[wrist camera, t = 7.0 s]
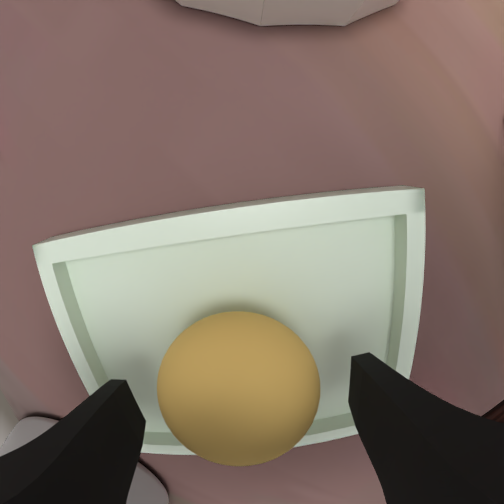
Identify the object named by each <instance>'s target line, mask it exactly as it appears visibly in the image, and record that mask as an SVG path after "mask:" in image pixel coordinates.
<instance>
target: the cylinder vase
mask: <svg viewBox="0 0 504 504" xmlns="http://www.w3.org/2000/svg"><path fill="white" fill-rule="evenodd" d="M57 422H59V421H57V420H54V419H50V418H45V417H27V418H24V419H22V420H20V421H19V422H18V423H17V424H16V426H15V427H14V428H13V430H12V431H11V433H10V434H9V436H8V437H7V438H6V440H5V442H4V443H3V444H2V446H1V448H0V456H2V455H5V454H7V453H9V452H11V451H13V450H15V449H17V448H19V447H21V446H23V445H25V444H27V443H28V442H30V441H32V440H33V439H35V438H36V437H38V436H40V435H41V434H42V433H44V432H45V431H47V430H48V429H49V428H51V427H52V426H53V425H55V424H56V423H57ZM126 504H169V498H168V494H167V491H166V489H165V488H164V486H163V485H162V483H161V482H160V481H159V480H158V479H157V477H156V476H155V475H153V474H152V473H151V472H150V471H149V470H148V469H147V468H146V467H144V466H143V465H142V464H140V463H139V462H138V463H137V466H136V470H135V473H134V476H133V480H132V483H131V486H130V490H129V493H128V497H127V502H126Z"/></svg>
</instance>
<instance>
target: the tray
mask: <svg viewBox="0 0 504 504" xmlns="http://www.w3.org/2000/svg"><path fill="white" fill-rule="evenodd" d="M32 247H33V251H34V255H35V259H36V263H37V266H38V270H39V273H40V277H41V280H42V283H43V287H44V290H45V293H46V296H47V299H48V302H49V305H50V307H51V310H52V313H53V316H54V318H55V321H56V324H57V326H58V329H59V331H60V334H61V336H62V339H63V341H64V343H65V346H66V348H67V350H68V353H69V355H70V357H71V359H72V361H73V364H74V366H75V368H76V370H77V372H78V374H79V376H80V378H81V380H82V382H83V384H84V386H85V388H86V390H87V392H88V393H89V395H92V394H93V393H94V392H95V391H96V390H98V389H99V388H100V387H101V386H102V385H104V384H105V383H106V382H108V381H109V380H111V379H121V380H127V383H128V385H129V387H130V389H131V391H132V394H133V396H134V398H135V400H136V402H137V404H138V406H139V408H140V410H141V412H142V414H143V416H144V418H145V420H146V426H145V433H144V440H143V446H142V449H141V453H154V454H175V455H196V454H195V453H193V452H191V451H190V450H188V449H187V448H186V447H185V446H184V445H182V444H181V443H180V442H179V441H178V440H177V438H176V437H175V436H174V435H173V434H172V432H171V431H170V429H169V428H168V426H167V425H166V423H165V421H164V418H163V416H162V414H161V411H160V407H159V403H158V398H157V378H158V372H159V368H160V365H161V362H162V359H163V357H164V355H165V354H166V352H167V350H168V348H169V346H170V345H171V344H172V343H173V341H174V340H175V339H176V338H177V337H178V335H180V334H181V333H182V332H183V331H184V330H185V329H186V328H188V327H189V326H191V325H192V324H194V323H195V322H197V321H199V320H201V319H203V318H205V317H208V316H211V315H214V314H218V313H223V312H232V311H244V312H253V313H257V314H262V315H265V316H268V317H270V318H273V319H275V320H277V321H279V322H281V323H282V324H284V325H285V326H287V327H288V328H289V329H291V330H292V331H293V332H294V333H296V334H297V335H298V336H299V337H300V339H301V340H302V341H303V342H304V344H305V345H306V346H307V347H308V349H309V351H310V352H311V354H312V356H313V358H314V360H315V363H316V366H317V369H318V373H319V378H320V401H319V406H318V411H317V413H316V416H315V418H314V420H313V423H312V425H311V426H310V428H309V430H308V431H307V433H306V434H305V435H304V437H303V438H302V439H301V440H300V441H299V442H298V443H297V444H296V445H295V446H294V447H298V446H304V445H310V444H315V443H320V442H325V441H330V440H334V439H339V438H343V437H347V436H351V435H355V434H358V431H357V429H356V427H355V423H354V420H353V417H352V414H351V410H350V407H349V403H348V396H349V384H350V369H351V356H355V355H359V354H364V353H368V352H370V353H371V354H373V355H374V356H376V357H377V358H378V359H380V360H381V361H383V362H384V363H385V364H387V365H388V366H390V367H391V368H392V369H394V370H395V371H397V372H398V373H400V374H401V375H403V376H404V377H405V378H407V379H408V380H409V377H410V373H411V368H412V363H413V357H414V352H415V346H416V340H417V333H418V326H419V319H420V310H421V301H422V291H423V279H424V262H425V190H424V188H418V187H411V186H404V185H401V186H387V187H374V188H362V189H350V190H340V191H329V192H320V193H310V194H301V195H292V196H284V197H276V198H268V199H260V200H253V201H245V202H238V203H231V204H224V205H217V206H211V207H204V208H198V209H192V210H185V211H179V212H173V213H168V214H162V215H156V216H151V217H145V218H140V219H134V220H129V221H124V222H119V223H113V224H108V225H104V226H99V227H94V228H89V229H84V230H80V231H75V232H71V233H66V234H62V235H57V236H53V237H51V238H48V239H46V240H44V241H41V242H39V243H37V244H34V245H32Z"/></svg>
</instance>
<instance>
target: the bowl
mask: <svg viewBox="0 0 504 504" xmlns="http://www.w3.org/2000/svg"><path fill="white" fill-rule="evenodd" d="M175 1H176V2H178V3H179V4H180V5H181V6H185V7H191V8H195V9H200V10H205V11H209V12H213V13H217V14H221V15H225V16H229V17H232V18H236V19H239V20H242V21H246V22H249V23H252V24H255V25H258V26H272V25H335V26H346V25H348V24H350V23H352V22H354V21H356V20H359V19H361V18H363V17H365V16H368V15H370V14H372V13H375V12H377V11H380V10H382V9H385V8H387V7H390V6H392V5H395V4H396V3H397V2H398V1H399V0H175Z"/></svg>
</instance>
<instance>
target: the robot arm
mask: <svg viewBox="0 0 504 504" xmlns="http://www.w3.org/2000/svg"><path fill="white" fill-rule="evenodd" d="M348 403H349V407H350V410H351V414H352V417H353V420H354V423H355V427H356V429H357V431H358V434H359V436H360V438H361V440H362V442H363V445H364V447H365V449H366V451H367V453H368V456H369V458H370V460H371V462H372V465H373V467H374V469H375V471H376V473H377V476H378V478H379V481H380V483H381V486H382V489H383V492H384V496H385V499H386V503H387V504H504V423H500V422H497V421H494V420H490V419H487V418H484V417H481V416H478V415H475V414H473V413H470V412H468V411H465V410H463V409H461V408H458V407H456V406H454V405H452V404H450V403H448V402H446V401H444V400H442V399H440V398H438V397H437V396H435V395H433V394H431V393H429V392H428V391H426V390H424V389H423V388H421V387H419V386H418V385H416V384H415V383H413V382H412V381H410V380H408V379H407V378H405V377H404V376H403V375H401V374H400V373H398V372H397V371H395V370H394V369H392V368H391V367H390V366H388V365H387V364H385V363H384V362H383V361H381V360H380V359H378V358H377V357H376V356H374V355H373V354H371V353H370V352H368V353H364V354H359V355H355V356H351V369H350V384H349V396H348ZM145 426H146V420H145V418H144V416H143V414H142V412H141V410H140V408H139V406H138V404H137V402H136V400H135V398H134V396H133V394H132V391H131V389H130V387H129V385H128V383H127V380H121V379H111V380H109V381H108V382H106V383H105V384H104V385H102V386H101V387H100V388H99V389H98V390H96V391H95V392H94V393H93V394H92V395H90V396H89V397H88V398H87V399H86V400H84V401H83V402H82V403H81V404H80V405H79V406H77V407H76V408H75V409H74V410H73V411H71V412H70V413H69V414H68V415H67V416H65V417H64V418H63V419H61V420H60V421H59V422H57V423H56V424H55V425H53V426H52V427H51V428H49V429H48V430H47V431H45V432H44V433H42V434H41V435H40V436H38V437H36V438H35V439H33V440H32V441H30V442H28V443H27V444H25V445H23V446H21V447H19V448H17V449H15V450H13V451H11V452H9V453H7V454H5V455H2V456H0V504H126V502H127V497H128V493H129V490H130V486H131V483H132V480H133V476H134V473H135V470H136V466H137V463H138V460H139V456H140V453H141V449H142V446H143V440H144V433H145Z"/></svg>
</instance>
